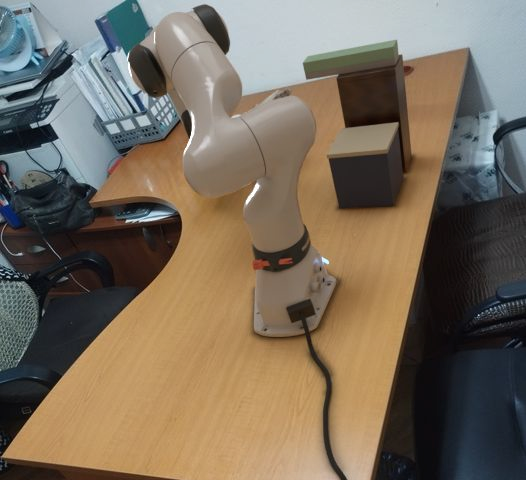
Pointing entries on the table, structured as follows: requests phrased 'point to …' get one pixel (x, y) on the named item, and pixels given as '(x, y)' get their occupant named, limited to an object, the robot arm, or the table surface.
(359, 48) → the green box
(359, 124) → the shelf
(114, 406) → the table surface
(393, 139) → the archive box
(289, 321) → the robot arm
